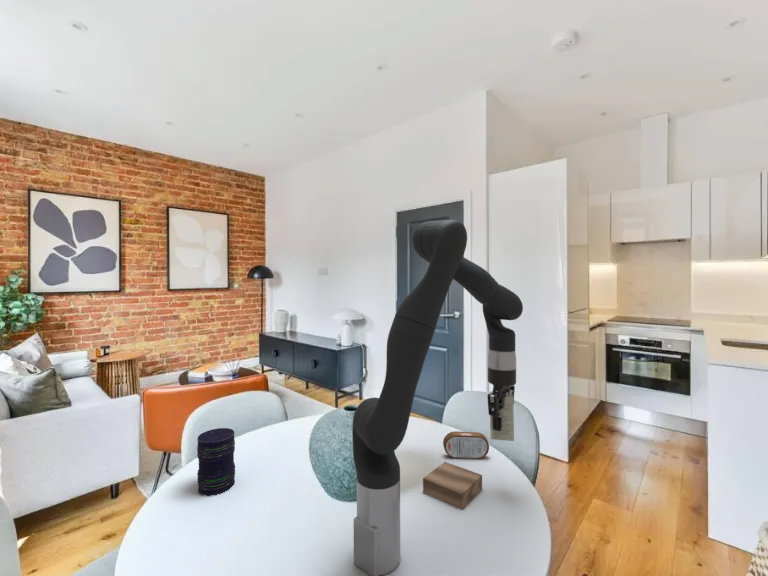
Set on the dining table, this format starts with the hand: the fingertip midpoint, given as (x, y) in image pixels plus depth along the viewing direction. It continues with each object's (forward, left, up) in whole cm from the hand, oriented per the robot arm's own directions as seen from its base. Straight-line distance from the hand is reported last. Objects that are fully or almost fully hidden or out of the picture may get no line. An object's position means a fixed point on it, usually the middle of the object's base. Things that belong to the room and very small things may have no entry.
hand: (501, 426), depth 100 cm
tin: (+12, +17, -19) cm, 28 cm away
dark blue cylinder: (-49, +65, -19) cm, 83 cm away
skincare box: (0, 0, -3) cm, 3 cm away
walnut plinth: (-8, +11, -18) cm, 23 cm away
